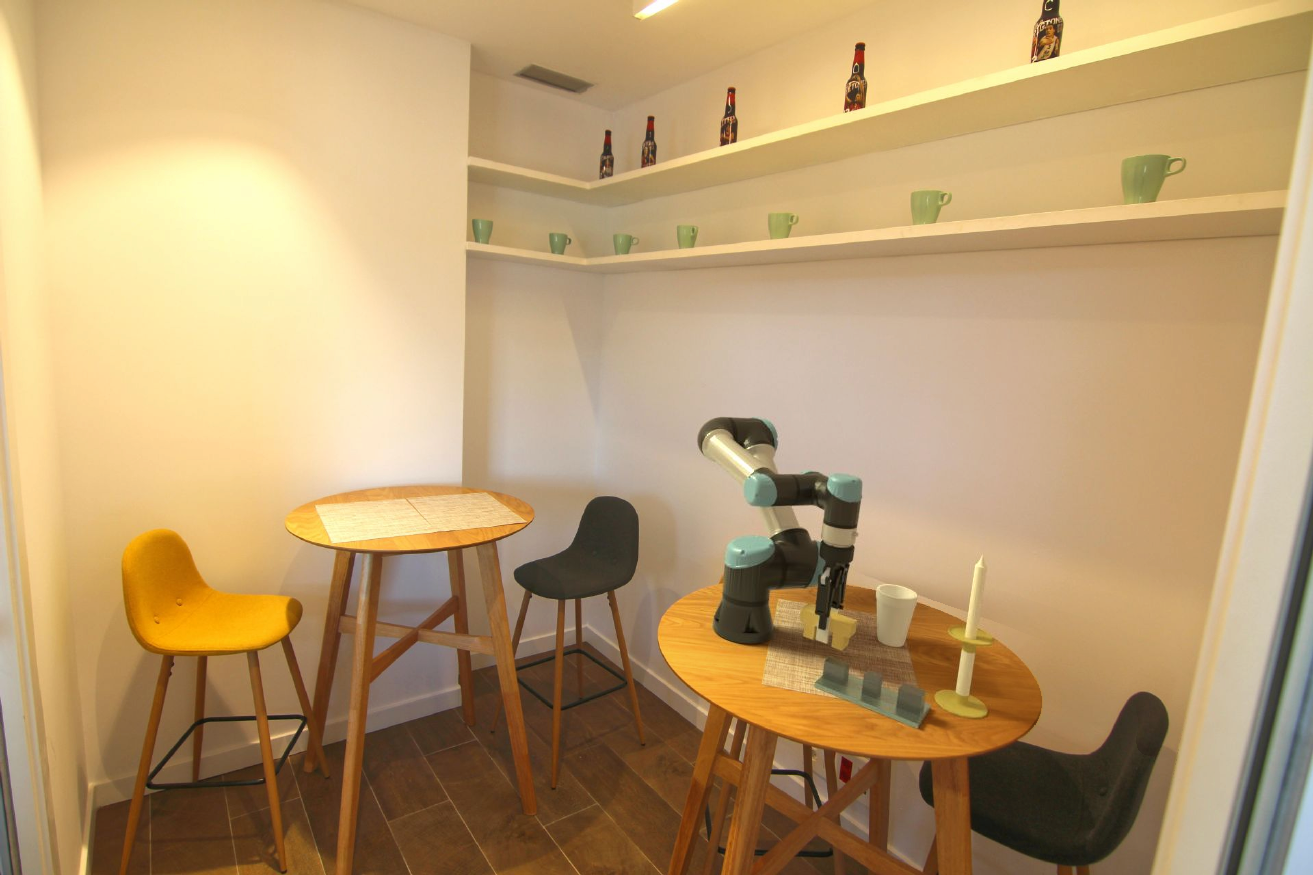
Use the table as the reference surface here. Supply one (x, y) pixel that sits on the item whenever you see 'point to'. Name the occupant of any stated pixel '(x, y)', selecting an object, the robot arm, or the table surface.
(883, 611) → the foam cup
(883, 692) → the rail
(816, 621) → the yellow arch-shaped block
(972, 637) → the candle
